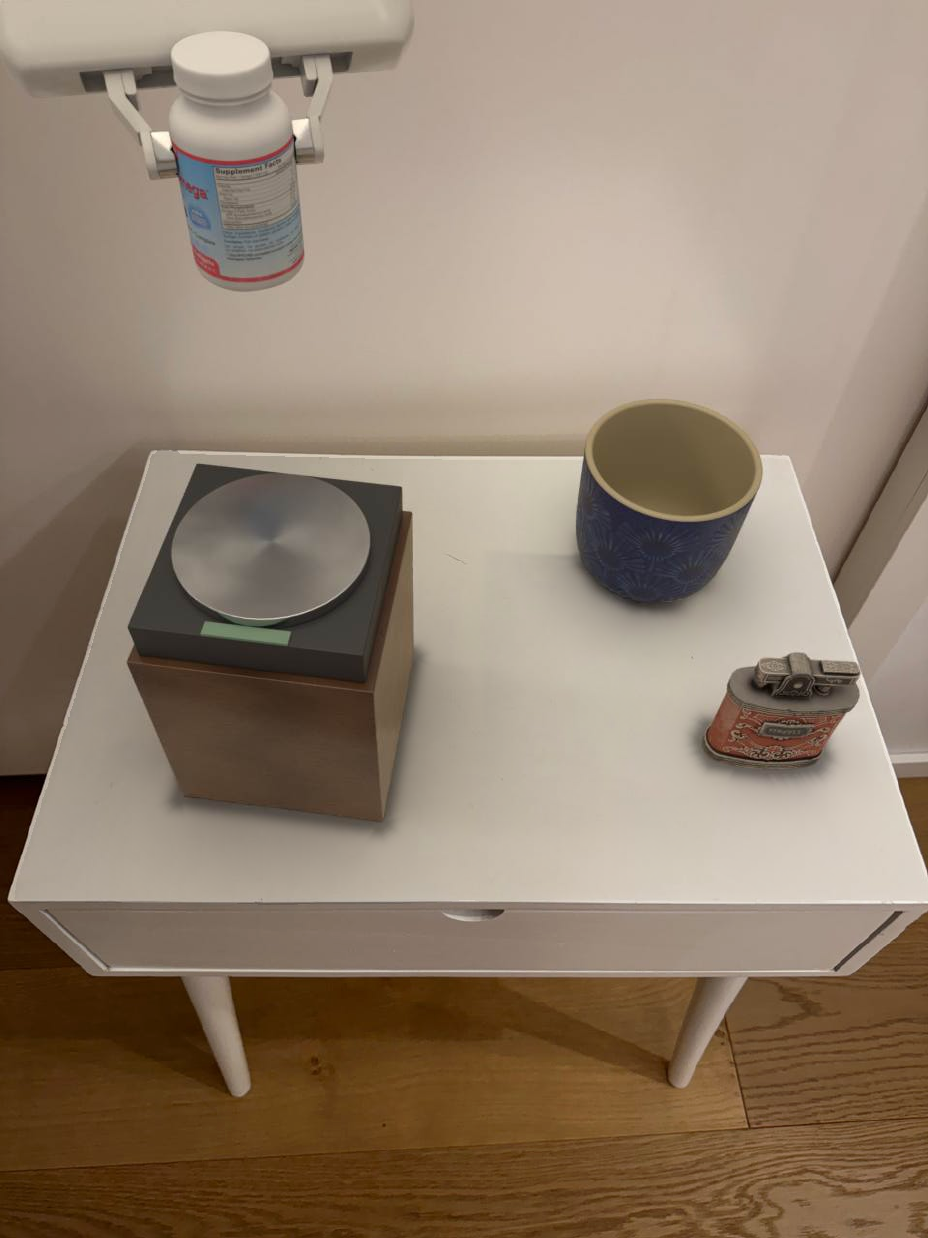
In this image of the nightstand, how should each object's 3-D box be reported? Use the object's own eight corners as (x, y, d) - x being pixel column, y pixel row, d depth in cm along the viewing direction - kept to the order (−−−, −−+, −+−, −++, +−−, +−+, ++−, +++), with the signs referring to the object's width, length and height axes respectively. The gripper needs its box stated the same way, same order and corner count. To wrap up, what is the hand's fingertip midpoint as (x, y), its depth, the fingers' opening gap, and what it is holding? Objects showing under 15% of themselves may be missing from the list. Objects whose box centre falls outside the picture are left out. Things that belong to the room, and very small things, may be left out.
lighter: (704, 766, 64) (745, 684, 56) (698, 723, 66) (736, 637, 58) (824, 772, 64) (881, 690, 56) (814, 728, 66) (868, 643, 58)
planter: (736, 526, 78) (775, 422, 69) (706, 640, 70) (747, 541, 62) (589, 485, 80) (610, 380, 71) (546, 592, 73) (563, 490, 64)
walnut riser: (182, 796, 61) (125, 662, 49) (236, 635, 69) (198, 486, 57) (382, 822, 61) (373, 693, 49) (413, 656, 69) (412, 511, 57)
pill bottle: (189, 242, 55) (146, 28, 46) (294, 229, 56) (271, 18, 47) (204, 303, 51) (161, 85, 43) (316, 287, 53) (296, 72, 44)
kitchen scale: (138, 655, 50) (122, 617, 47) (204, 493, 57) (193, 452, 54) (365, 683, 49) (362, 646, 46) (403, 516, 56) (402, 475, 54)
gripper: (-66, -166, 42) (10, 167, 44) (392, -178, 46) (440, 126, 48) (-27, -80, 48) (38, 208, 50) (374, -98, 52) (418, 169, 54)
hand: (238, 168), depth 49 cm, fingers closed on pill bottle, 6 cm apart
